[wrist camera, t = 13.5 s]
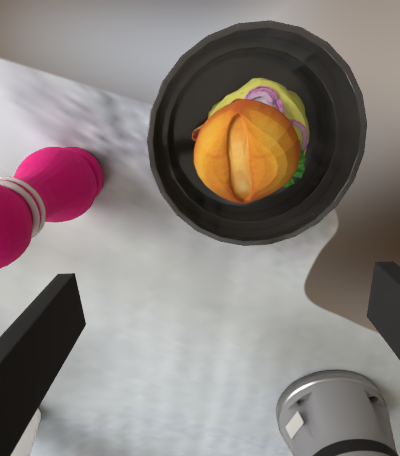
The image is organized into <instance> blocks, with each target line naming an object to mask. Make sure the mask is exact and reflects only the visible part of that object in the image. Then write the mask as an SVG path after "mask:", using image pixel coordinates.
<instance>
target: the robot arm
mask: <svg viewBox="0 0 400 456" xmlns="http://www.w3.org/2000/svg"><path fill="white" fill-rule="evenodd" d="M367 317H368V318H369V320H370V321H371V322H372V324H373V325H374V326H375V327H376V329H377V330H378V332H379V333H380V334H381V336H382V337H383V338H384V340H385V341H386V342H387V344H388V345H389V346H390V348H391V349H392V350H393V352H394V353H395V354H396V356H397V357H398V358H399V359H400V267H399V266H398V265H397V264H396V263H394V262H375V266H374V272H373V279H372V285H371V292H370V298H369V306H368V312H367ZM85 325H86V323H85V318H84V314H83V309H82V305H81V300H80V295H79V291H78V286H77V282H76V277H75V273H72V274H58V275H57V276H56V277H55V278H54V279H53V280H52V281H51V282H50V283H49V284H48V285H47V286H46V288H45V289H44V290H43V291H42V292H41V293H40V294H39V295H38V296H37V297H36V298H35V300H34V301H33V302H32V303H31V304H30V305H29V306H28V307H27V308H26V309H25V310H24V312H23V313H22V314H21V315H20V316H19V317H18V318H17V319H16V320H15V321H14V322H13V324H12V325H11V326H10V327H9V328H8V329H7V330H6V331H5V332H4V333H3V334H2V336H1V337H0V456H11V454H12V452H13V451H14V449H15V447H16V445H17V444H18V442H19V440H20V438H21V437H22V435H23V433H24V431H25V430H26V428H27V426H28V424H29V423H30V421H31V419H32V417H33V416H34V414H35V412H36V411H37V409H38V407H39V405H40V404H41V402H42V400H43V398H44V397H45V395H46V393H47V391H48V390H49V388H50V386H51V384H52V383H53V381H54V379H55V377H56V376H57V374H58V372H59V370H60V369H61V367H62V365H63V363H64V362H65V360H66V358H67V357H68V355H69V353H70V351H71V350H72V348H73V346H74V344H75V343H76V341H77V339H78V337H79V336H80V334H81V332H82V330H83V329H84V327H85ZM276 416H277V421H278V426H279V430H280V433H281V435H282V436H283V438H284V440H285V442H286V444H287V445H288V447H289V449H290V450H291V452H292V454H293V456H398V454H397V452H396V448H395V444H394V439H393V434H392V429H391V424H390V419H389V414H388V410H387V406H386V403H385V401H384V399H383V398H382V396H381V394H380V392H379V391H378V389H377V388H376V386H375V385H374V384H373V383H372V382H371V381H369V380H368V379H367V378H365V377H363V376H361V375H359V374H356V373H353V372H349V371H343V370H327V371H320V372H316V373H312V374H309V375H307V376H304V377H302V378H300V379H299V380H297V381H295V382H294V383H292V384H291V385H290V386H289V387H288V388H287V389H286V390H285V391H284V392H283V393H282V395H281V397H280V398H279V400H278V403H277V407H276Z"/></svg>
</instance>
